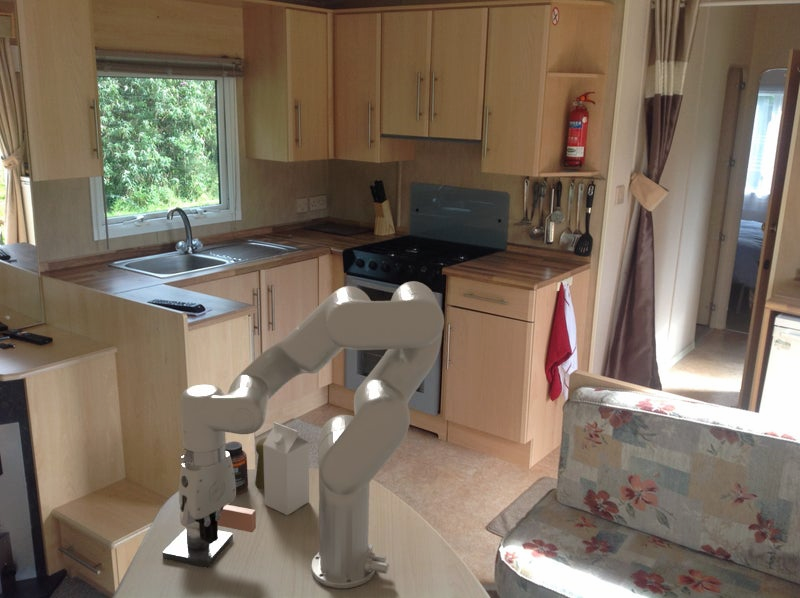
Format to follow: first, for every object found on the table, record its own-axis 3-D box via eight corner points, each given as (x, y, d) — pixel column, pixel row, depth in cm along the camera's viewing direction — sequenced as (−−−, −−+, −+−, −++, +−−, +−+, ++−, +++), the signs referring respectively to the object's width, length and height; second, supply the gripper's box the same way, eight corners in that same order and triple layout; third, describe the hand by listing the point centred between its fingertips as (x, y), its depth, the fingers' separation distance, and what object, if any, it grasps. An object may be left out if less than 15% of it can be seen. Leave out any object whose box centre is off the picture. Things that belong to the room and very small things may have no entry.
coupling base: (232, 539, 153) (231, 511, 151) (208, 568, 144) (206, 539, 142) (189, 530, 156) (188, 503, 154) (162, 558, 147) (160, 530, 145)
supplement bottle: (237, 479, 176) (235, 436, 173) (253, 488, 173) (252, 444, 169) (216, 489, 172) (214, 445, 169) (232, 498, 168) (230, 453, 165)
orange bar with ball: (173, 524, 146) (172, 506, 145) (191, 507, 152) (190, 490, 151) (246, 539, 142) (245, 521, 141) (261, 521, 148) (260, 503, 147)
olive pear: (275, 490, 172) (274, 448, 169) (251, 487, 173) (249, 444, 170) (284, 478, 178) (283, 436, 175) (260, 474, 179) (259, 433, 176)
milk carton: (286, 492, 172) (285, 416, 166) (309, 502, 168) (308, 425, 162) (264, 505, 166) (262, 427, 161) (287, 516, 162) (286, 437, 157)
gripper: (185, 474, 127) (190, 566, 132) (249, 443, 139) (252, 528, 144) (157, 461, 131) (163, 550, 136) (222, 431, 143) (225, 515, 148)
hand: (209, 539), depth 140 cm, fingers closed
